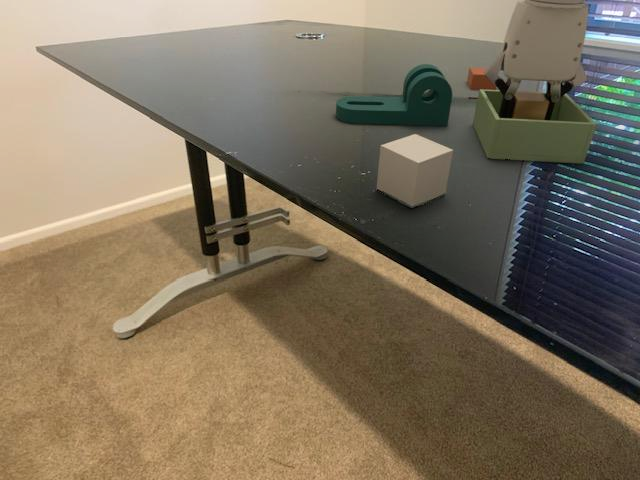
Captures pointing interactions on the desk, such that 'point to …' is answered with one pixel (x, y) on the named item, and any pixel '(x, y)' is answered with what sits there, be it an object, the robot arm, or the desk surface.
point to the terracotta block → (479, 80)
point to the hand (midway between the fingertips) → (522, 122)
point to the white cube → (414, 169)
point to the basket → (533, 132)
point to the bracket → (403, 102)
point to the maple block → (530, 105)
